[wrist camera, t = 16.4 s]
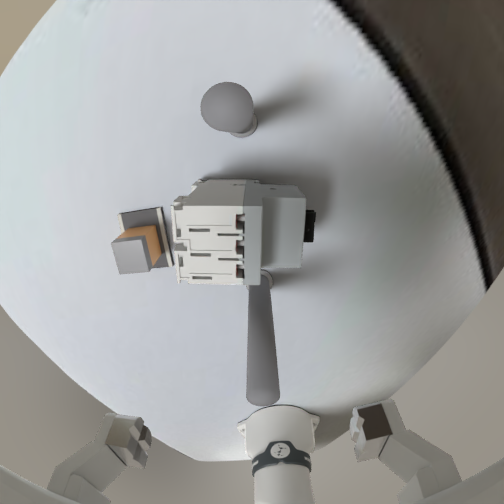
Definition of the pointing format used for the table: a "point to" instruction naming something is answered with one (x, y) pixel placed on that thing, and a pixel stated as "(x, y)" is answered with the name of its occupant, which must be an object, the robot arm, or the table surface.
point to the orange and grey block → (137, 249)
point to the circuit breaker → (238, 230)
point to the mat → (147, 219)
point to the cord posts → (260, 309)
